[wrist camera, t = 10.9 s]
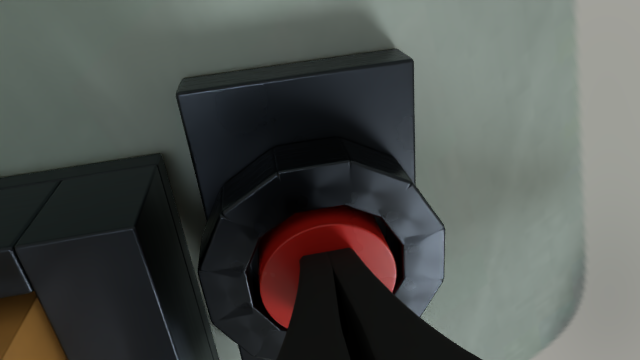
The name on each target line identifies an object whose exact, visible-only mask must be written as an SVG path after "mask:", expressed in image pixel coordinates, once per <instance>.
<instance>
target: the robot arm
mask: <svg viewBox="0 0 640 360" xmlns="http://www.w3.org/2000/svg"><path fill="white" fill-rule="evenodd" d="M299 263H300V274H299V283H298V289H297V294H296V299H295V303H294V308H293V312H292V316H291V319H290V322H289V326H288V329H287V332H286V335H285V338H284V341H283V344H282V347H281V349H280V352H279V355H278V357H277V359H276V360H482V359H480V358H478V357H477V356H475V355H473V354H472V353H470V352H468V351H466V350H465V349H463V348H462V347H460V346H459V345H457V344H456V343H454V342H453V341H451V340H450V339H448V338H447V337H445V336H444V335H443V334H441V333H440V332H438V331H437V330H436V329H434V328H433V327H432V326H430V325H429V324H428V323H426V322H425V321H424V320H423V319H421V318H420V317H419V316H418V315H417V314H415V313H414V312H413V311H412V310H411V309H409V308H408V307H407V306H406V305H405V304H404V303H403V302H402V301H400V300H399V299H398V298H397V297H396V296H395V295H394V294H393V293H392V292H391V291H390V290H389V289H388V288H387V287H386V286H385V285H384V284H383V283H382V282H381V281H380V280H379V279H378V278H377V277H376V276H375V275H374V274H373V273H372V271H371V270H370V269H369V268H368V267H367V266H366V265H365V264H364V262H363V261H362V260H361V259H360V258H359V256H358V255H357V254H356V252H355V251H354V250H353V249H351V248H344V249H338V250H333V251H327V252H322V253H316V254H310V255H305V256H302V257H301V259H300V260H299Z"/></svg>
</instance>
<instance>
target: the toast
mask: <svg viewBox="0 0 640 360" xmlns="http://www.w3.org/2000/svg"><path fill="white" fill-rule="evenodd" d="M0 360H68V359H67V357H66V355H65V353H64V351H63V349H62V347H61V345H60V343H59V340H58V338H57V336H56V334H55V332H54V330H53V328H52V326H51V324H50V322H49V320H48V318H47V316H46V314H45V311H44V309H43V307H42V305H41V303H40V301H39V299H38V297H37V295H36V293H35V291H33V292H31V293H28V294H23V295H17V296H11V297H5V298H0Z"/></svg>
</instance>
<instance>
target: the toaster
mask: <svg viewBox="0 0 640 360" xmlns="http://www.w3.org/2000/svg"><path fill="white" fill-rule="evenodd" d="M33 291H35V293H36V295H37V297H38V299H39V301H40V303H41V305H42V307H43V309H44V311H45V314H46V316H47V318H48V320H49V322H50V324H51V326H52V328H53V330H54V332H55V334H56V336H57V338H58V340H59V343H60V345H61V347H62V349H63V351H64V353H65V355H66V357H67V359H68V360H219V357H218V354H217V350H216V346H215V343H214V339H213V336H212V332H211V329H210V325H209V322H208V318H207V314H206V311H205V307H204V304H203V300H202V297H201V293H200V289H199V286H198V282H197V279H196V275H195V272H194V268H193V265H192V261H191V257H190V254H189V250H188V247H187V243H186V240H185V236H184V232H183V229H182V225H181V222H180V218H179V215H178V211H177V208H176V204H175V200H174V197H173V193H172V190H171V186H170V183H169V179H168V175H167V172H166V168H165V165H164V161H163V158H162V155H161V154H154V155H147V156H141V157H134V158H128V159H122V160H115V161H109V162H102V163H96V164H89V165H83V166H76V167H70V168H63V169H57V170H50V171H44V172H37V173H31V174H24V175H18V176H11V177H5V178H0V298H5V297H11V296H17V295H23V294H28V293H31V292H33Z"/></svg>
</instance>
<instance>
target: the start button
mask: <svg viewBox="0 0 640 360" xmlns="http://www.w3.org/2000/svg"><path fill="white" fill-rule="evenodd" d="M344 248H351V249H353V250H354V251H355V252H356V254H357V255H358V256H359V258H360V259H361V260H362V261H363V262H364V264H365V265H366V266H367V267H368V268H369V269H370V270H371V271H372V273H373V274H374V275H375V276H376V277H377V278H378V279H379V280H380V281H381V282H382V283H383V284H384V285H385V286H386V287H387V288H388V289H389V290H390V291H391V292H393V289H394V286H395V281H396V271H397V270H396V263H395V259H394V256H393V254H392V252H391V250H390V248H389V246H388V244H387V242H386V240H385V238H384V236H383V234H382V232H381V230H380V228H379V226H378V224H377V222H376V220H375V218H374V216H373V215H371V214H368V213H365V212H362V211H358V210H355V209H352V208H349V207H346V206H343V205H341V206H335V207H329V208H323V209H317V210H311V211H306V212H300V213H295V214H294V215H292V216H291V217H289V218H288V219H287V220H285V221H284V222H283V223H281V224H280V225H278V226H277V227H276V228H274V229H273V230H271V231H270V232H269V233H267V234H266V235H264V236H263V237H262V238H261V240H260V243H259V245H258V247H257V256H258V272H259V288H260V296H261V299H262V302H263V304H264V307H265V309H266V310H267V311H268V313H269V314H270V316H271V317H272V318H273V319H274V320H275V321H277V322H278V323H279V324H280V325H282V326H284V327H285V328H287V329H288V326H289V322H290V319H291V316H292V312H293V308H294V303H295V299H296V294H297V289H298V283H299V274H300V263H299V260H300V259H301V257H302V256H305V255H310V254H316V253H322V252H327V251H333V250H338V249H344Z"/></svg>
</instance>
